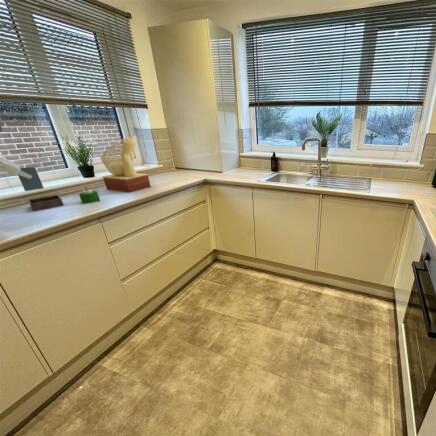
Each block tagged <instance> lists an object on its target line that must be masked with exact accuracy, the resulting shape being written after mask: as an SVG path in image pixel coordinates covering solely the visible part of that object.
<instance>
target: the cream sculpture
mask: <svg viewBox="0 0 436 436" xmlns="http://www.w3.org/2000/svg"><path fill="white" fill-rule="evenodd" d="M136 142H137V141H136V139H135V138H134V136H133V135H130V137H129V136H128V137H125V138H121V139H120V142H119V143H116V144H113V145H110V146H109V147H108V148H106V149H105V150H104V153H103V154H102V155H100V161H101V162H102V164H103V165H104V167H105V168H106V169H107V171H108V172H109V173H110V175H104V176H102V179H103V182H104V185H105V187H106V190H108V191H115V192H124V193H132V192H136V191H140V190H143V189H147V188H150V187H152V186H151V182H150V178H149V174H148V173H142V172H137V171H136V169H135V167H134V158H133V152H134V151H135V148H136Z"/></svg>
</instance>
